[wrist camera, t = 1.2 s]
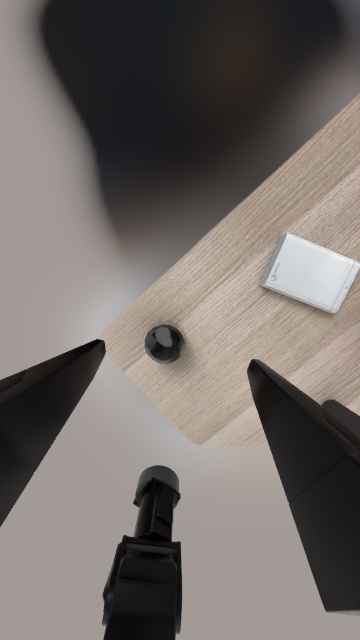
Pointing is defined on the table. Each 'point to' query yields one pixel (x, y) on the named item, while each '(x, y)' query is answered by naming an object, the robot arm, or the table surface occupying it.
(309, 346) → the table surface
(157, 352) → the socket
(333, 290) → the hard drive
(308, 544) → the robot arm
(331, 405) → the orange-capped black cylinder
